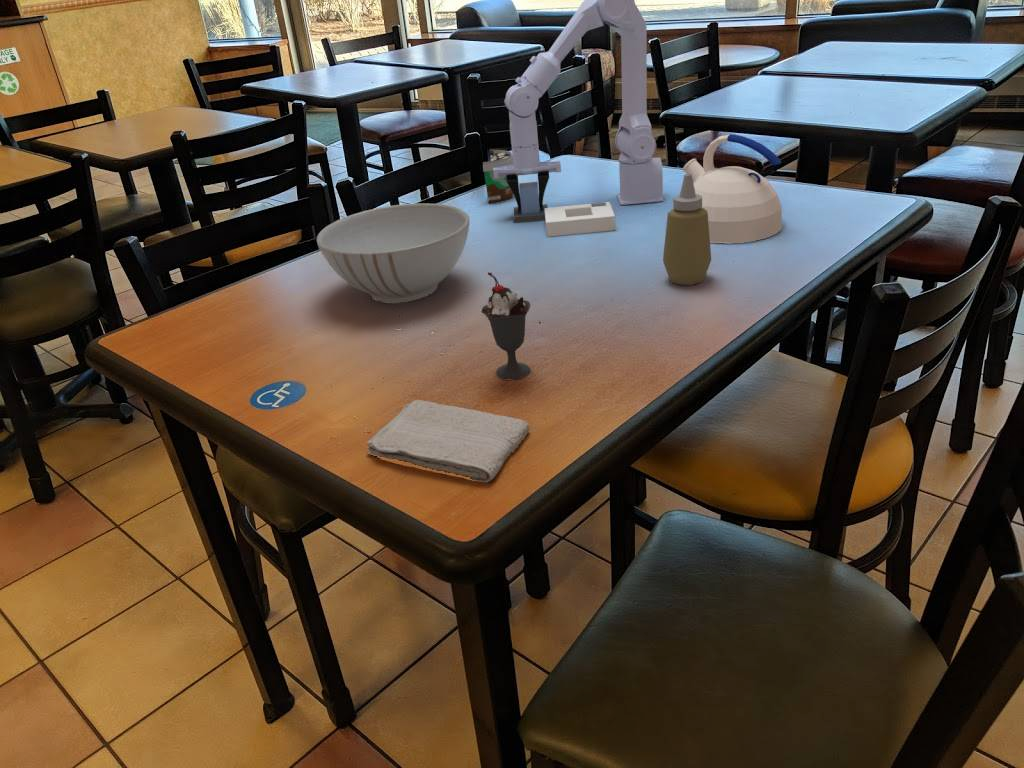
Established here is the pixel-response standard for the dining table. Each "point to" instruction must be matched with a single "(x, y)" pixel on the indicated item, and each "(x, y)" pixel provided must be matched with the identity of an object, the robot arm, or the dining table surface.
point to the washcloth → (450, 439)
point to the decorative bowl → (396, 249)
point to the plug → (529, 198)
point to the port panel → (579, 219)
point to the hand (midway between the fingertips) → (530, 207)
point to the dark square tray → (528, 217)
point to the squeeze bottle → (687, 237)
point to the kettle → (736, 196)
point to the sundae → (508, 327)
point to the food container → (499, 186)
